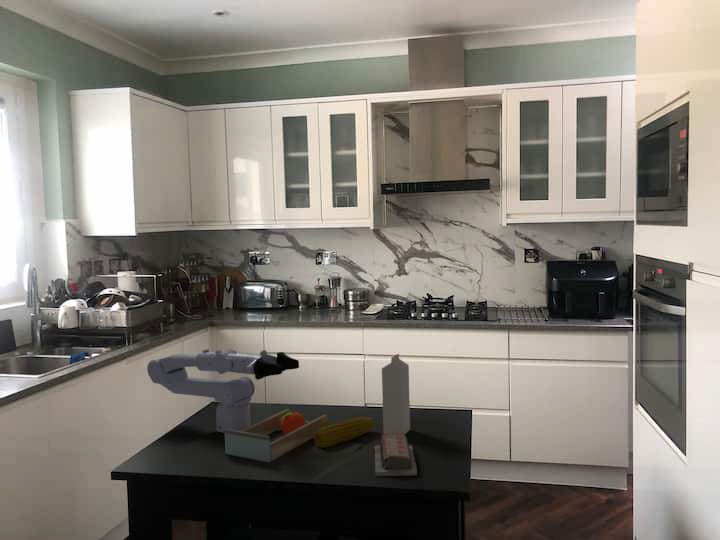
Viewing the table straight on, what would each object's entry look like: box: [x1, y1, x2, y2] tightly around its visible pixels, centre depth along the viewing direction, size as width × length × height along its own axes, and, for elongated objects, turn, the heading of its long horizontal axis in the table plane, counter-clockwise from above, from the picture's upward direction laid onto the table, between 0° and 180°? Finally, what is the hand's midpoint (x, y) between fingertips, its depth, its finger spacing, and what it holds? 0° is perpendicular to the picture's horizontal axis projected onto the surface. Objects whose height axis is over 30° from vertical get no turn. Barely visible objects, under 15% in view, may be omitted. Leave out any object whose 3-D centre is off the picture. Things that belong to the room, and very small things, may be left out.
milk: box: [381, 353, 411, 436], centre depth 182 cm, size 6×6×22 cm
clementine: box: [278, 411, 306, 436], centre depth 181 cm, size 8×7×7 cm
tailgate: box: [223, 429, 272, 463], centre depth 164 cm, size 14×1×6 cm, turn 61°
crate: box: [242, 408, 329, 462], centre depth 176 cm, size 14×26×5 cm, turn 151°
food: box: [313, 416, 375, 449], centre depth 177 cm, size 21×6×6 cm, turn 137°
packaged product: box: [374, 434, 418, 477], centre depth 161 cm, size 18×5×10 cm
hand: (289, 367), depth 174 cm, fingers open, 7 cm apart
